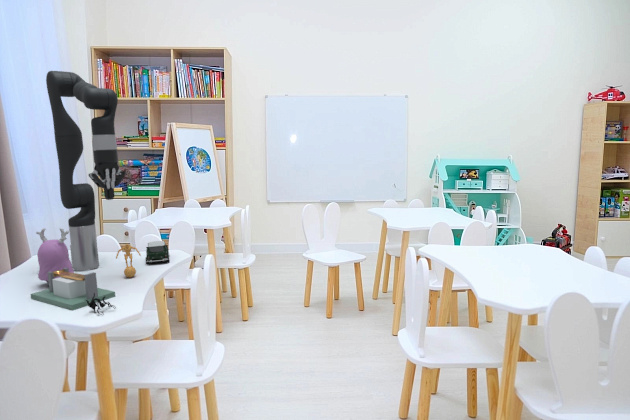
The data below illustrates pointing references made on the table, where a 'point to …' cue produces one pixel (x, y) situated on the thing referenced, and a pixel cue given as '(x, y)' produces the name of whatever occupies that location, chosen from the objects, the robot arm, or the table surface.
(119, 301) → the table surface
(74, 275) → the strap
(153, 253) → the miniature car
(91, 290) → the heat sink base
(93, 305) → the creature
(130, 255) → the figurine
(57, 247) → the toy character
